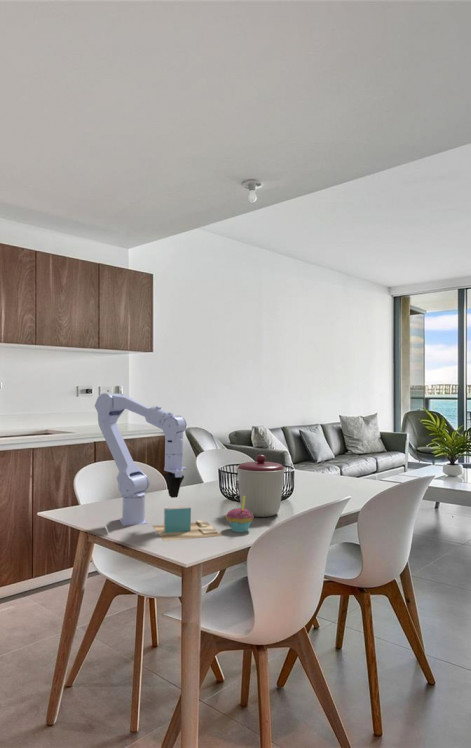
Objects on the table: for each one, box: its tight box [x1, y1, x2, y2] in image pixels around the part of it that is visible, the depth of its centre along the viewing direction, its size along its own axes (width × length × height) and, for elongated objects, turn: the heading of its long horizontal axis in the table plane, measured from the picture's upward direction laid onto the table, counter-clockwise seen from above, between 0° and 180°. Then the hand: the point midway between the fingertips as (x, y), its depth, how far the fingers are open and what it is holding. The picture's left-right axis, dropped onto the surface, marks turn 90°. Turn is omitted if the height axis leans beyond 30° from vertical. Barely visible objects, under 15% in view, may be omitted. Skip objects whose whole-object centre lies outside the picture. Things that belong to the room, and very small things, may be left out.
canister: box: [235, 454, 287, 518], centre depth 190 cm, size 18×18×21 cm
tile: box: [163, 506, 192, 533], centre depth 164 cm, size 2×8×7 cm, turn 109°
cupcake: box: [225, 494, 255, 533], centre depth 166 cm, size 9×8×12 cm
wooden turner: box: [195, 519, 219, 534], centre depth 168 cm, size 14×4×1 cm, turn 19°
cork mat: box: [152, 521, 224, 542], centre depth 164 cm, size 18×18×1 cm
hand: (173, 496), depth 169 cm, fingers closed
